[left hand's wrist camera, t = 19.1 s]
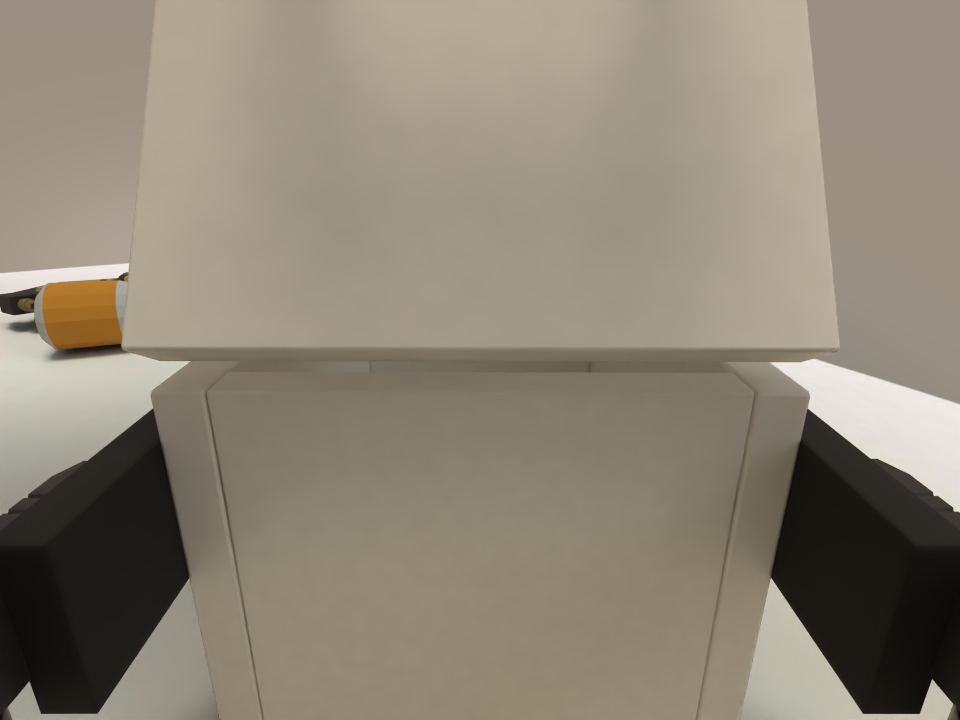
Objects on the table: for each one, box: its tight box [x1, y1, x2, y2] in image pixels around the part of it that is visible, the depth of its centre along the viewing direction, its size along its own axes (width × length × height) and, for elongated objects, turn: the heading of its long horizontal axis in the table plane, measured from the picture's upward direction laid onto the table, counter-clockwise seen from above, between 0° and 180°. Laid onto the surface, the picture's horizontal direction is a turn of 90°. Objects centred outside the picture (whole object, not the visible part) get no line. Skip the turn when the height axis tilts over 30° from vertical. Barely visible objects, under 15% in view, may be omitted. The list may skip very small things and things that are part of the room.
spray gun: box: [0, 272, 129, 350], centre depth 43 cm, size 4×17×15 cm
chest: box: [151, 361, 810, 720], centre depth 17 cm, size 14×10×9 cm
